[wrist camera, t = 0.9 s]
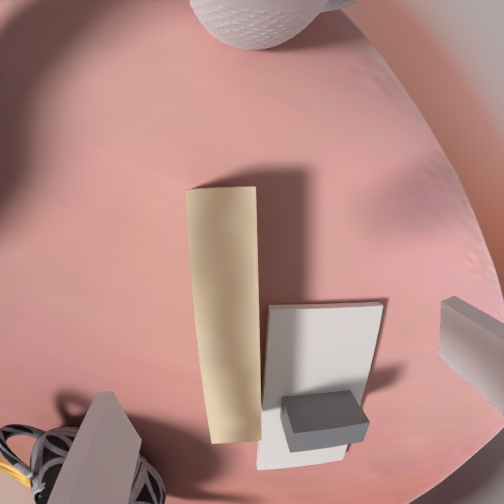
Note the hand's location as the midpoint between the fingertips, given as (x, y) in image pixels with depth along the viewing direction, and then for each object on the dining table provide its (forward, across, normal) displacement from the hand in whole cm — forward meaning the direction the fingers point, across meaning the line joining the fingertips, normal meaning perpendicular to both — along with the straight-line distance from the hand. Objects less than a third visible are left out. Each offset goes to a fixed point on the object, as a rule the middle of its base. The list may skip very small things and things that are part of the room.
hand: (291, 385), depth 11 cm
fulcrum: (+19, +4, -18) cm, 27 cm away
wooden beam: (+19, -3, -5) cm, 20 cm away
